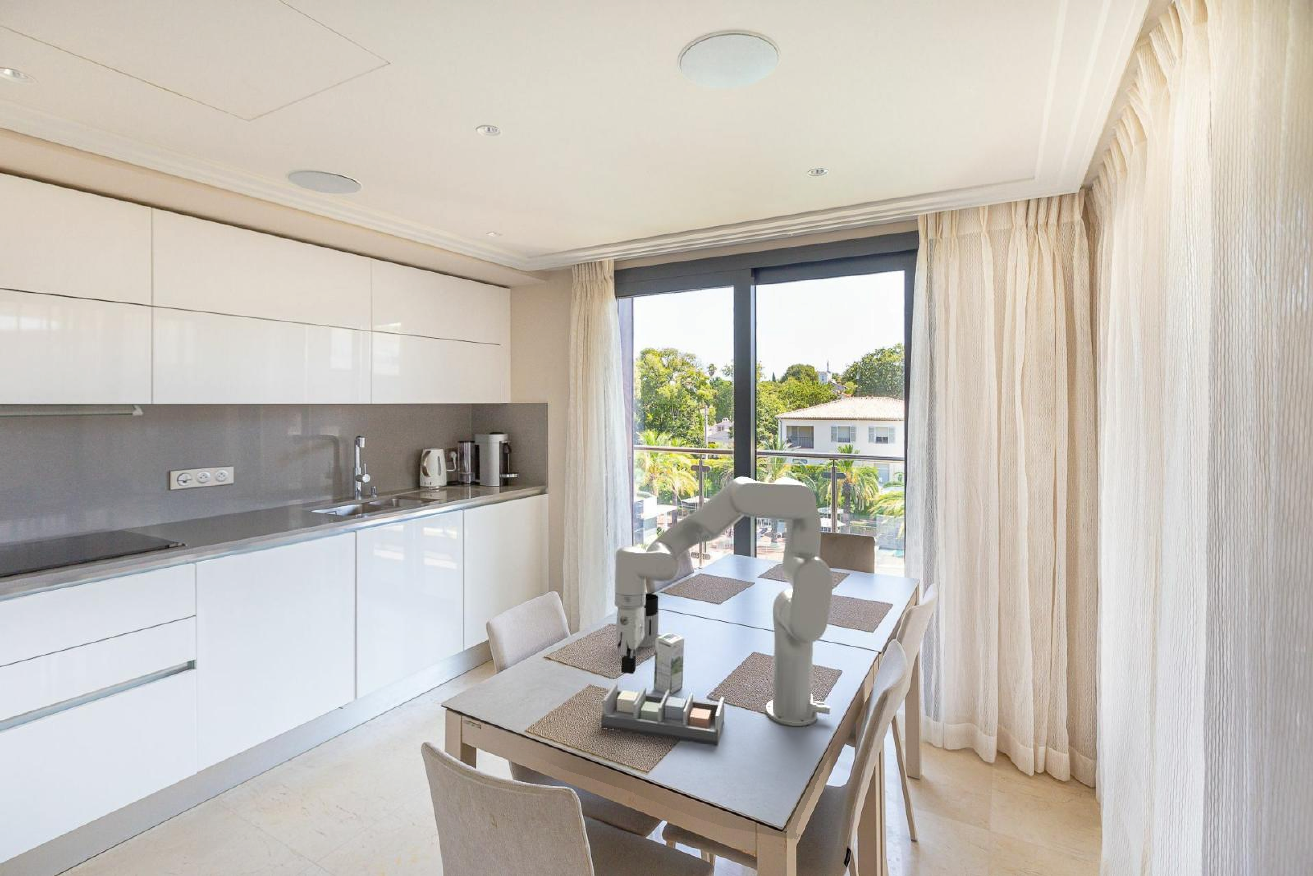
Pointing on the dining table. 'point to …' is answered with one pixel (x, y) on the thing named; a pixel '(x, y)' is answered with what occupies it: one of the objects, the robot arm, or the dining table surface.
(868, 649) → the dining table surface
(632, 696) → the cream block
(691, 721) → the light orange square block
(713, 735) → the slotted cube rack
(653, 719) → the key sage
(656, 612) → the glass holder
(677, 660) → the syrup box
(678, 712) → the pale blue block
